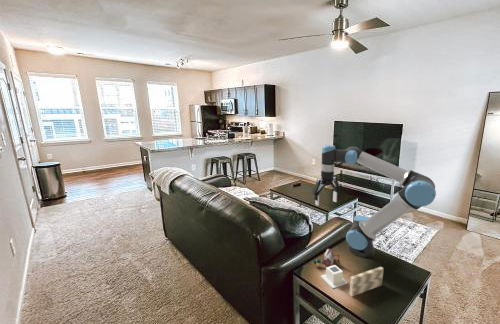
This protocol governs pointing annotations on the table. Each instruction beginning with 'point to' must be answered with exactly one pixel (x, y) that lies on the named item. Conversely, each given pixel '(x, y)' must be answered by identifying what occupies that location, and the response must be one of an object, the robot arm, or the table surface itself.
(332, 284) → the felt mat
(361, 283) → the birch screen
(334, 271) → the cream cube
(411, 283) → the table surface
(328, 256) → the decorative duck model
